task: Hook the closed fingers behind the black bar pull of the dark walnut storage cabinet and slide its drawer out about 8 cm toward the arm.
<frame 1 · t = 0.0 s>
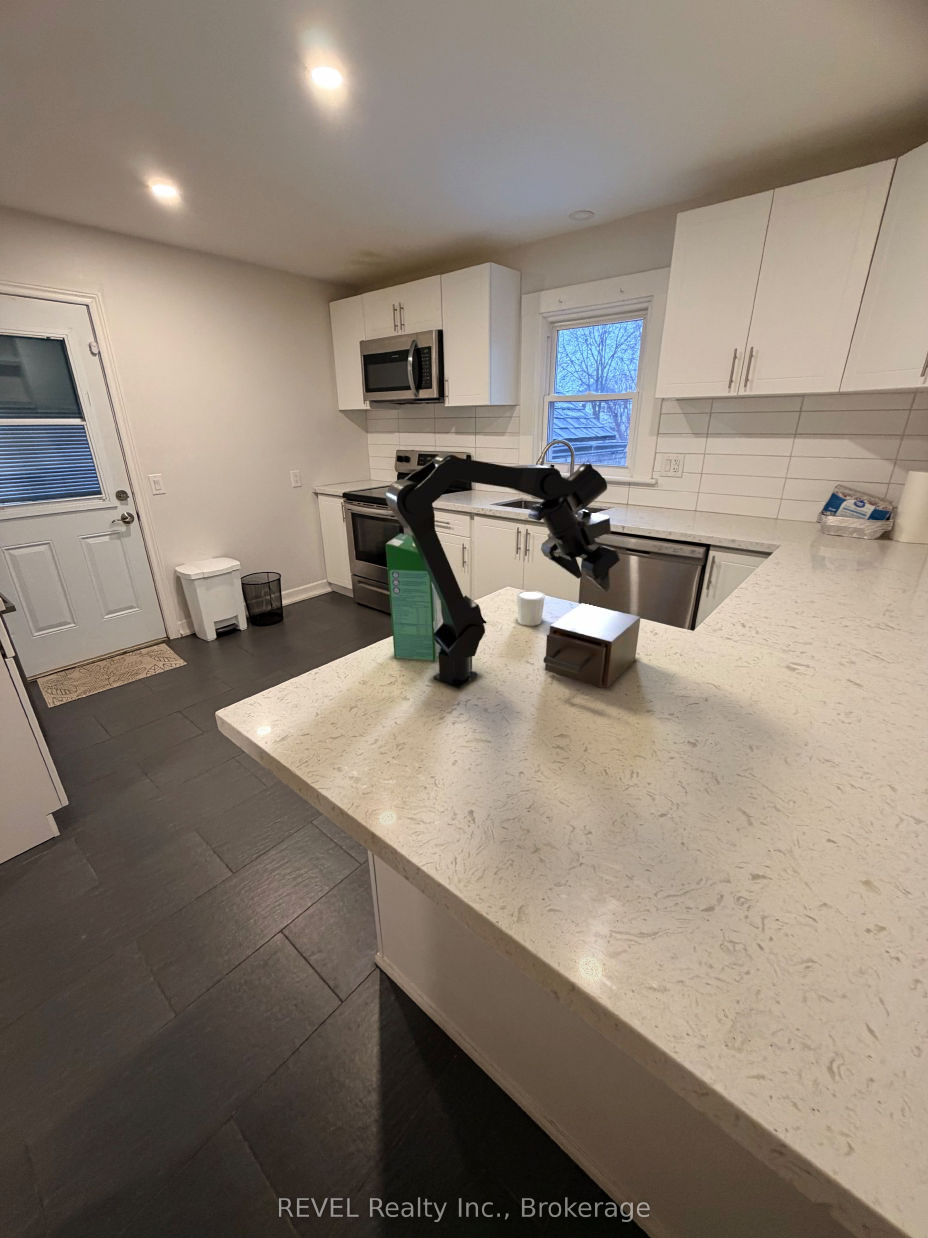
hand: (593, 583, 102), 15 cm above the countertop, tool tilted 35°, fingers open, 9 cm apart
milk carton: (420, 651, 109), on the countertop
white cup: (529, 622, 123), on the countertop
cabinet: (592, 664, 101), on the countertop
drawer: (582, 652, 96), point 5 cm above the countertop, slide at 1.0 cm
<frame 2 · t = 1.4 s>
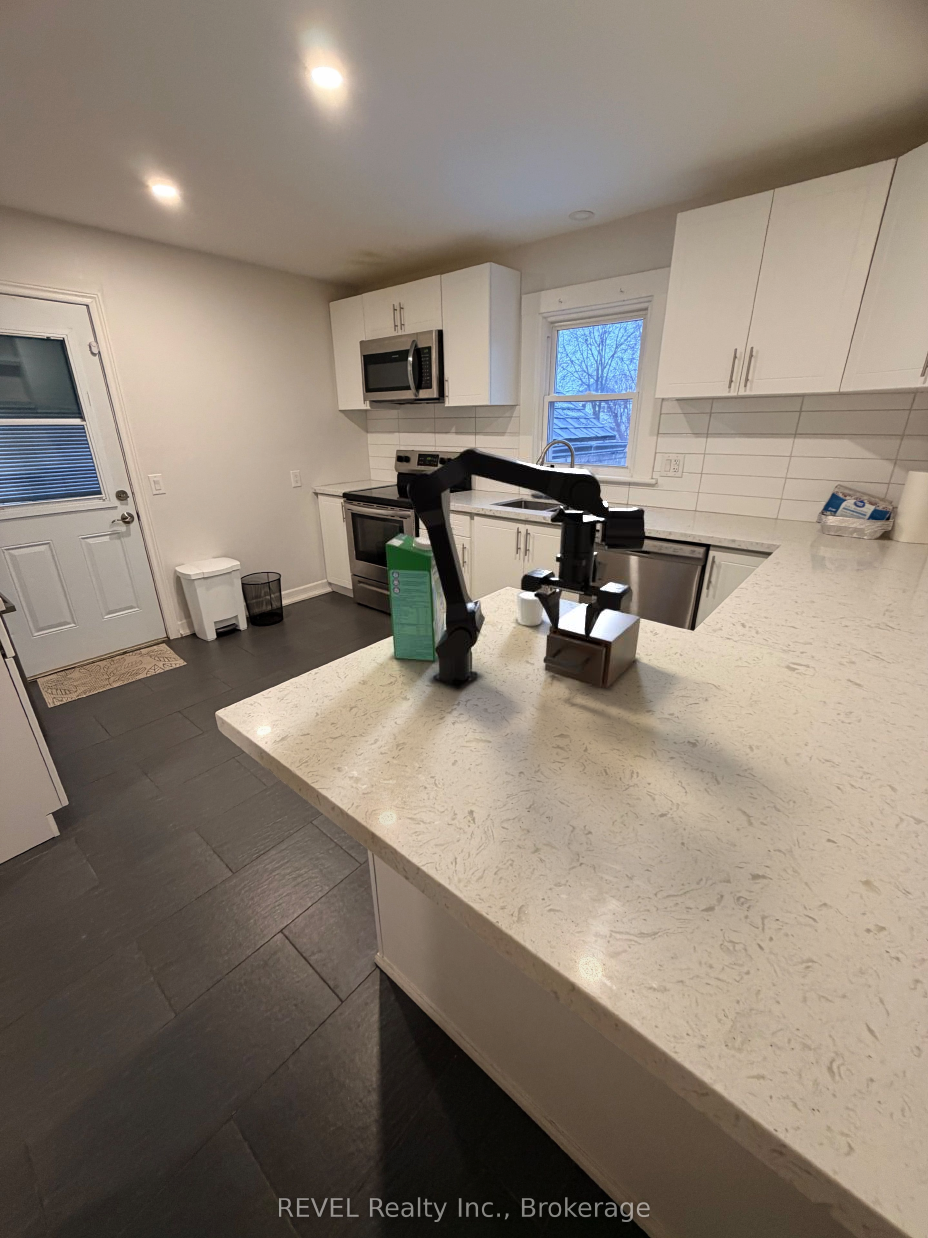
hand: (571, 633, 89), 11 cm above the countertop, tool pointing down, fingers open, 6 cm apart
nothing on the countertop moved.
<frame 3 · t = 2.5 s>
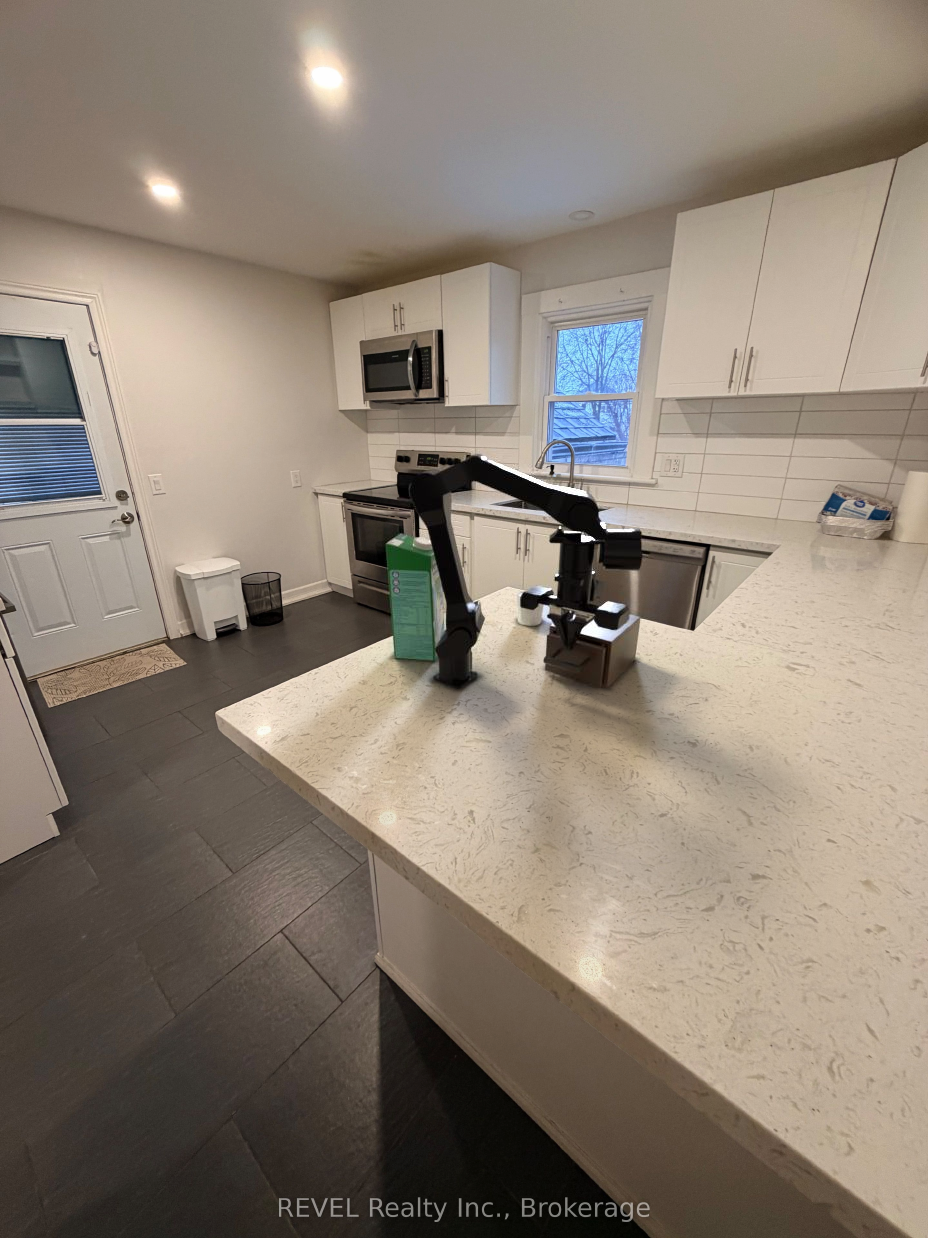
hand: (569, 650, 90), 8 cm above the countertop, tool pointing down, fingers closed
nothing on the countertop moved.
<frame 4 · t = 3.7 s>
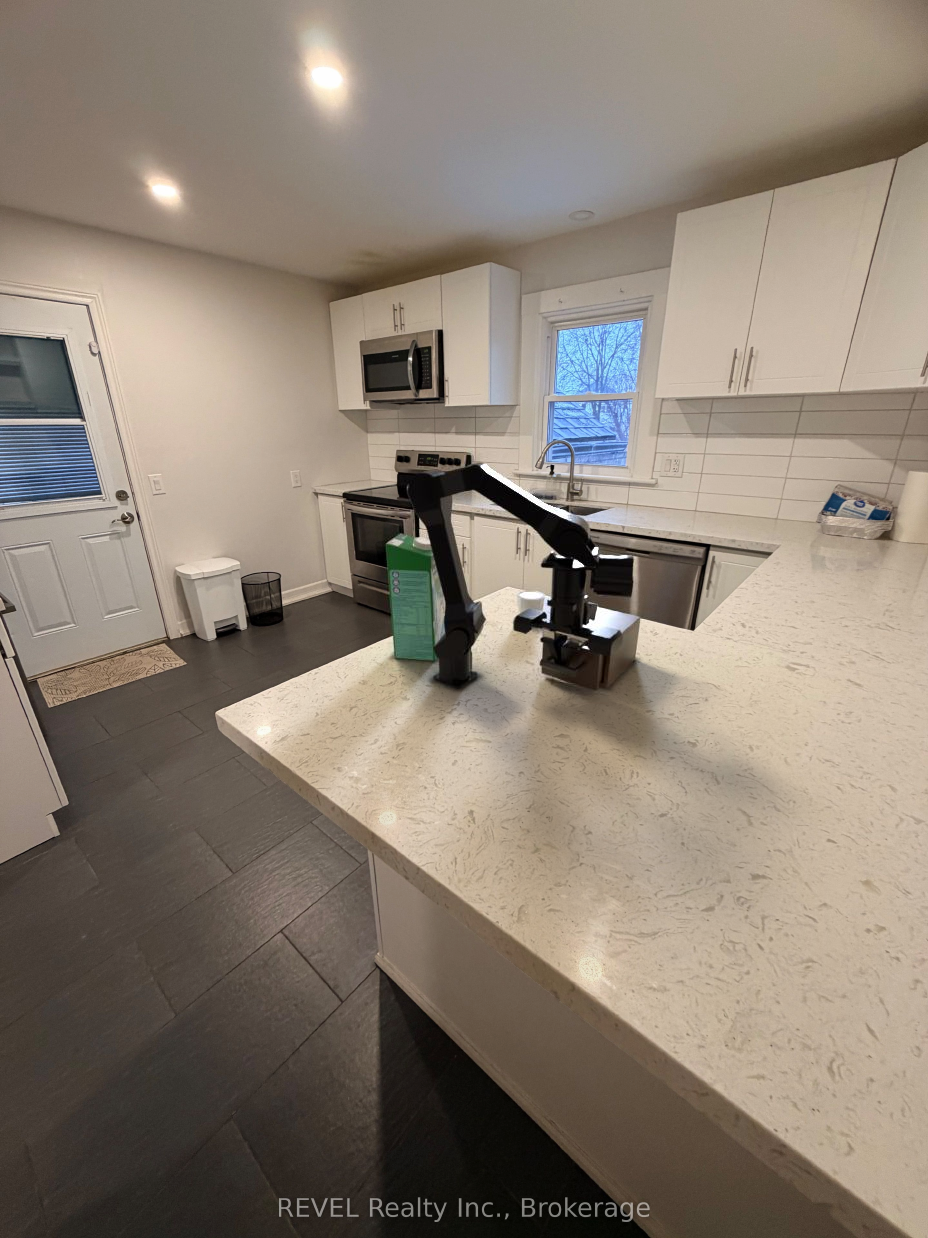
hand: (563, 672, 90), 4 cm above the countertop, tool pointing down, fingers closed, pressing on drawer
drawer: (579, 655, 95), point 5 cm above the countertop, slide at 2.4 cm, touching gripper
everything else where it was.
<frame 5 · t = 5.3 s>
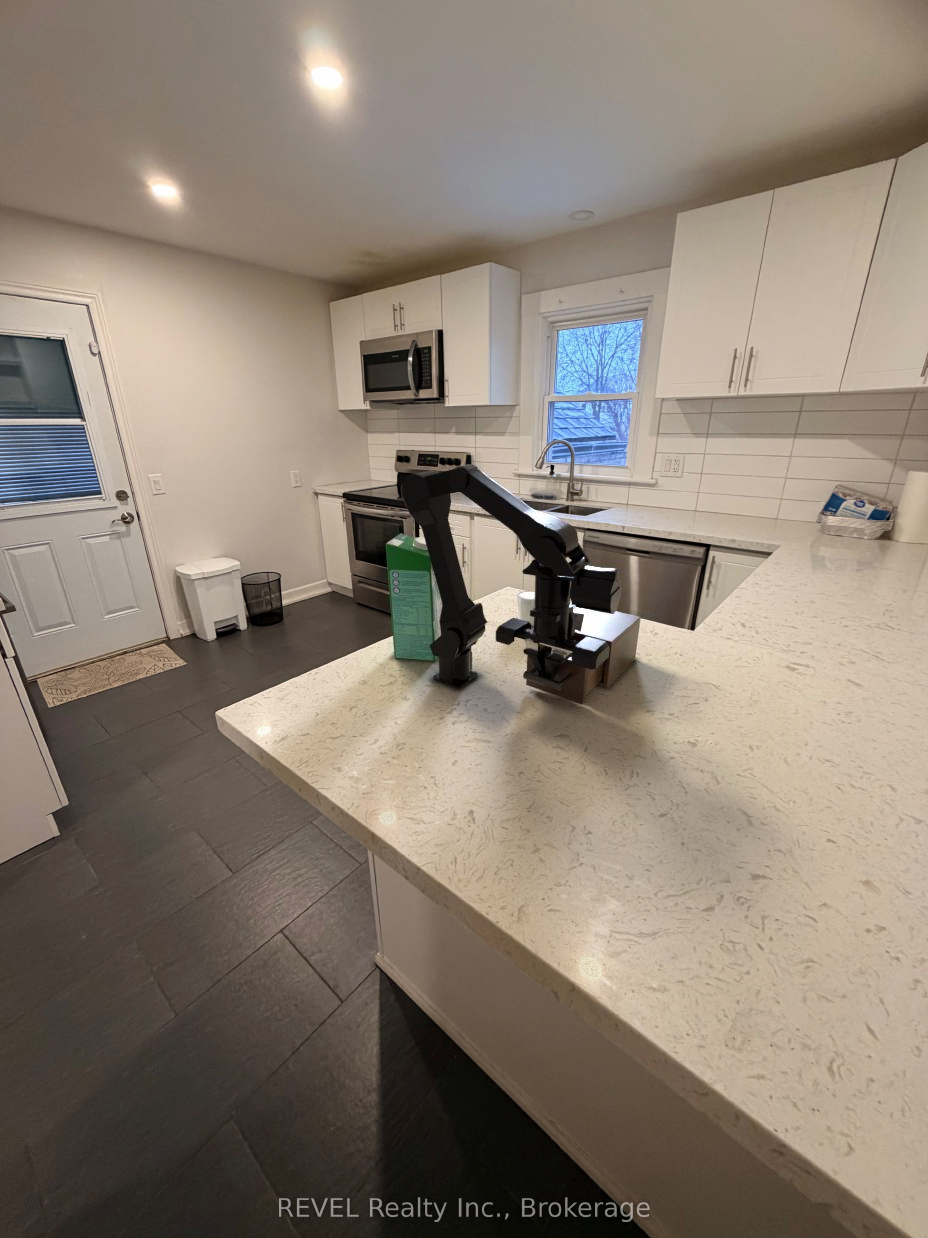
hand: (547, 685, 86), 4 cm above the countertop, tool pointing down, fingers closed, pressing on drawer
drawer: (565, 666, 90), point 5 cm above the countertop, slide at 8.1 cm, touching gripper
everything else where it was.
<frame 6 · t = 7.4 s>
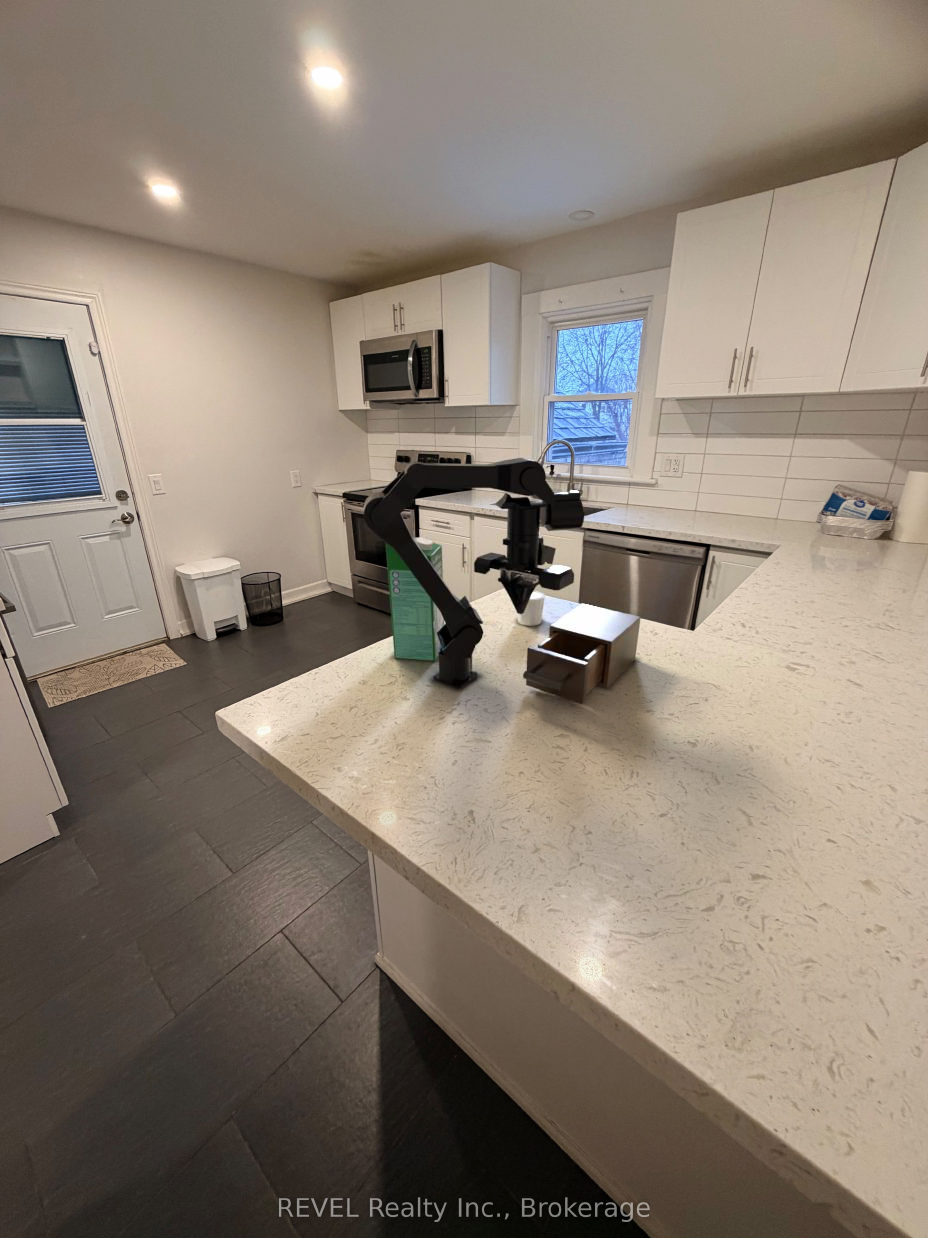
hand: (520, 613, 94), 13 cm above the countertop, tool pointing down, fingers closed
drawer: (565, 666, 90), point 5 cm above the countertop, slide at 8.1 cm
everything else where it was.
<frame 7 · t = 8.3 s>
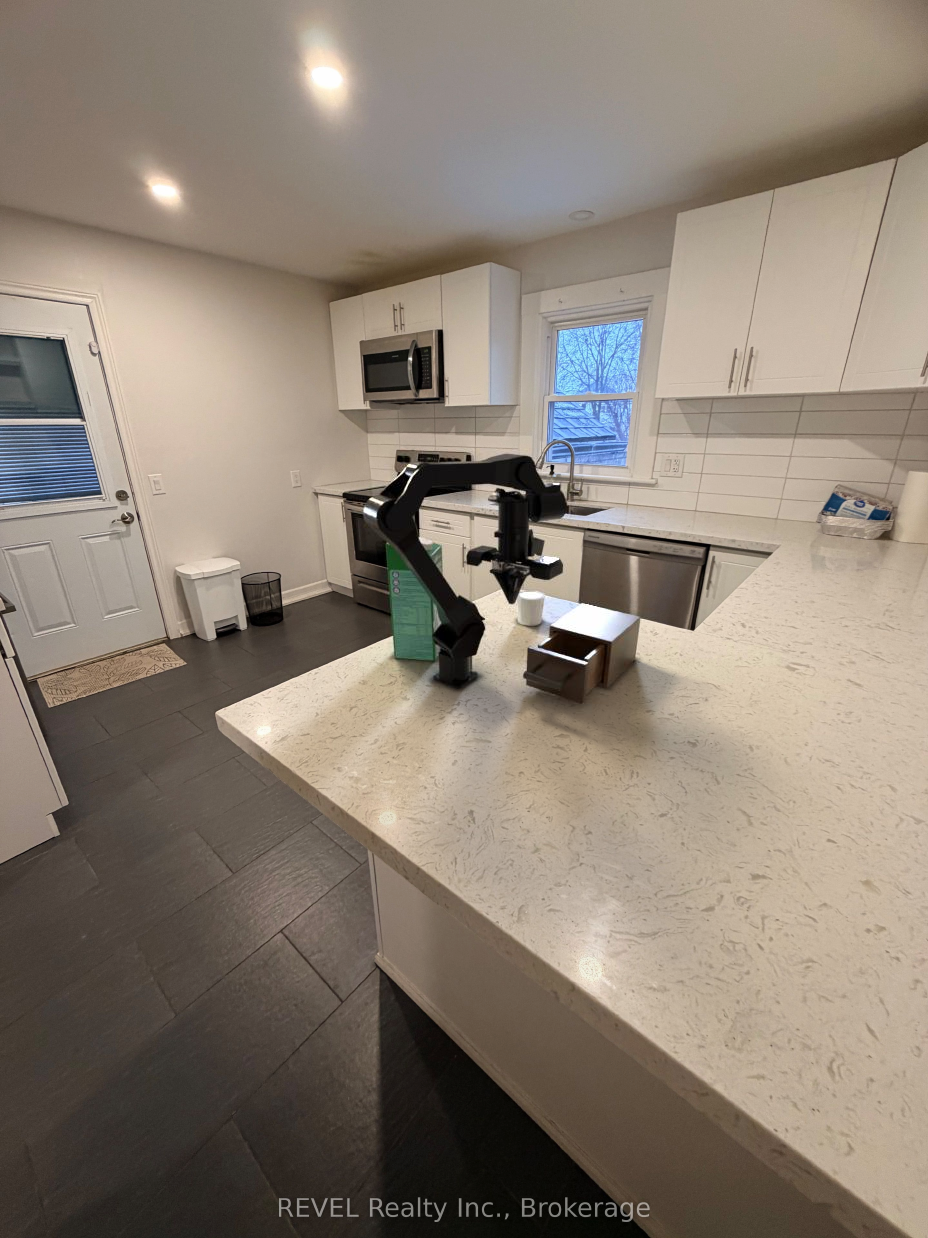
hand: (512, 603, 98), 13 cm above the countertop, tool pointing down, fingers closed
nothing on the countertop moved.
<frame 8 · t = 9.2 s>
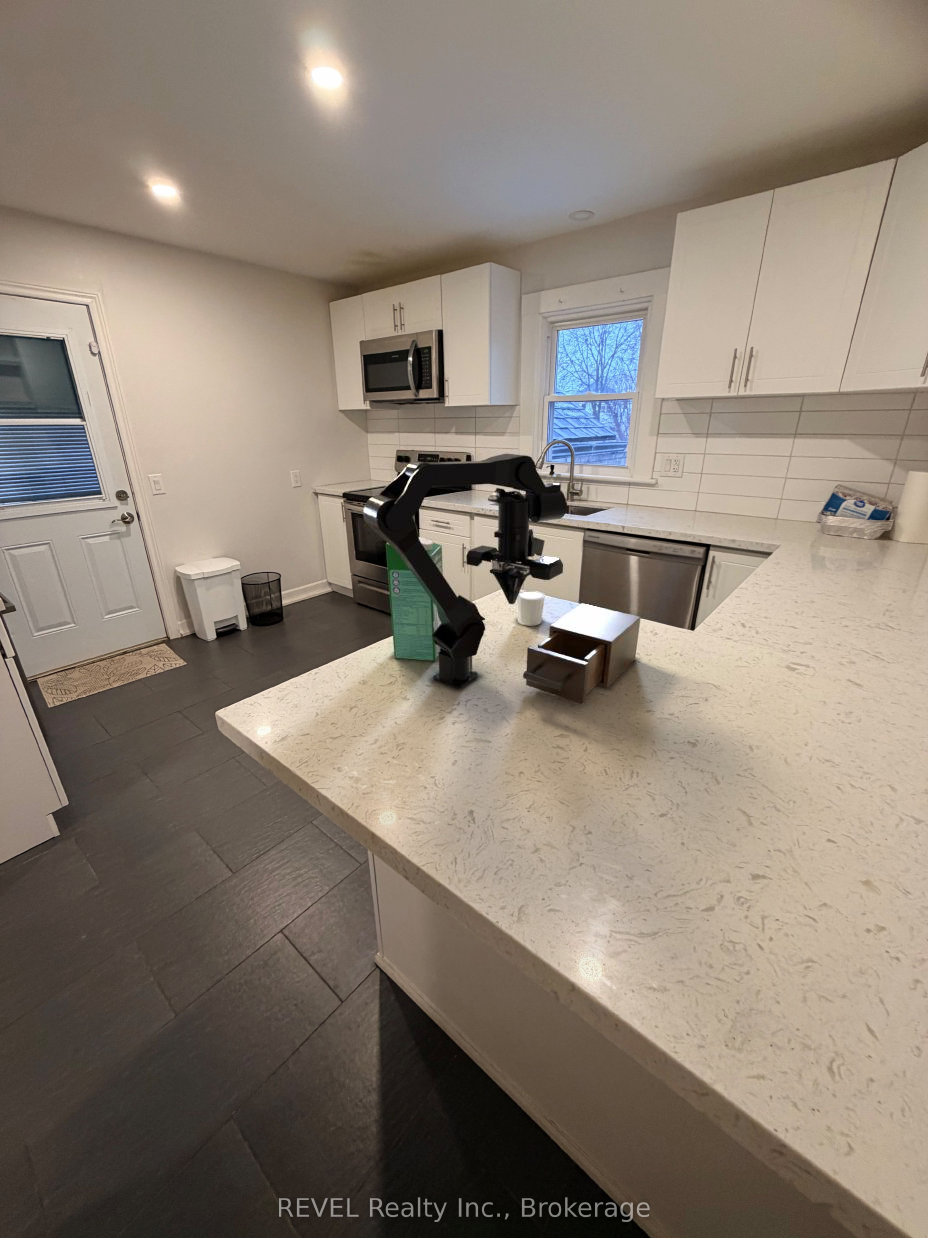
hand: (512, 603, 98), 13 cm above the countertop, tool pointing down, fingers closed
nothing on the countertop moved.
at the end: drawer slide at 8.1 cm; milk carton moved 0.2 cm from its start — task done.
